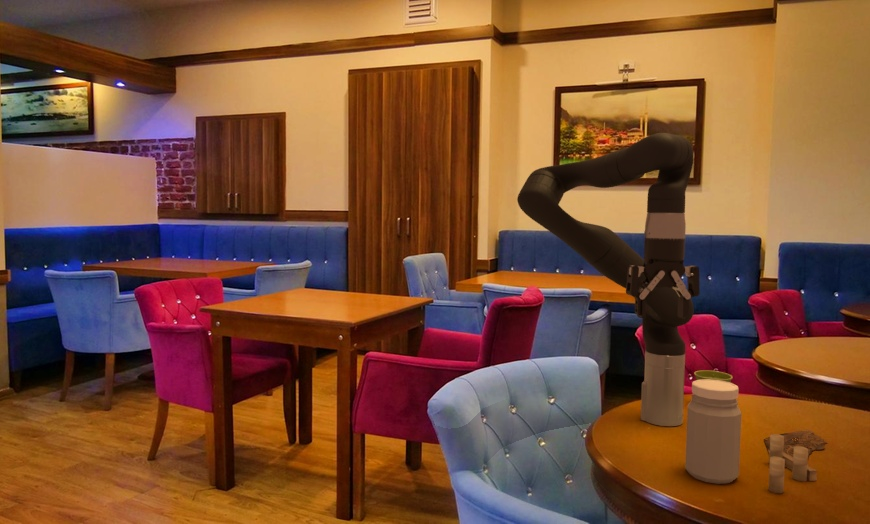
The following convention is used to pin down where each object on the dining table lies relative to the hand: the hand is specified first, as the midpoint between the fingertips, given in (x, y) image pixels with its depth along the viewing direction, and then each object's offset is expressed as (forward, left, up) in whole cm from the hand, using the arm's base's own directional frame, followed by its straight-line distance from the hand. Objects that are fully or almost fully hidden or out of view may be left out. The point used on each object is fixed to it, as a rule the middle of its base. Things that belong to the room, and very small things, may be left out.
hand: (661, 317), depth 127 cm
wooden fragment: (+23, +30, -31) cm, 49 cm away
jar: (+10, +1, -30) cm, 32 cm away
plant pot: (+2, +50, -30) cm, 59 cm away
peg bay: (+20, +9, -30) cm, 37 cm away
